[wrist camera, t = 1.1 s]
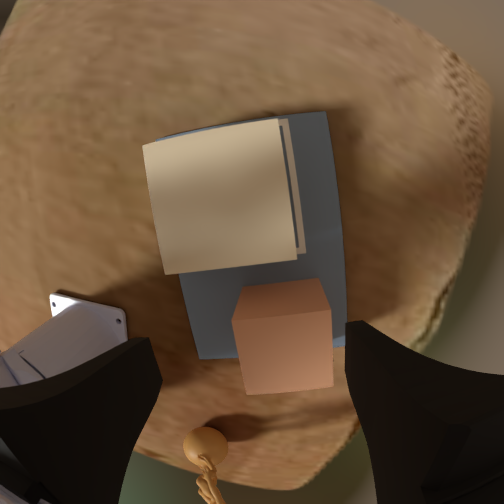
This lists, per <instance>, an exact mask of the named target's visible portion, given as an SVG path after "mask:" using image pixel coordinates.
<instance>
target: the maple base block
mask: <svg viewBox="0 0 504 504" xmlns="http://www.w3.org/2000/svg"><path fill="white" fill-rule="evenodd" d="M143 153H144V161H145V168H146V175H147V181H148V188H149V194H150V200H151V206H152V212H153V217H154V223H155V228H156V233H157V239H158V244H159V248H160V253H161V258H162V263H163V267H164V272H165V275H169V274H178V273H187V272H196V271H205V270H213V269H222V268H231V267H239V266H248V265H256V264H264V263H272V262H281V261H289V260H297V252H296V244H295V235H294V227H293V219H292V212H291V204H290V197H289V189H288V182H287V175H286V168H285V162H284V155H283V148H282V142H281V136H280V129H279V123H278V118H277V119H269V120H262V121H255V122H249V123H243V124H237V125H231V126H225V127H220V128H215V129H210V130H205V131H200V132H195V133H191V134H186V135H182V136H178V137H173V138H169V139H165V140H161V141H157V142H154V143H150V144H146V145H143Z"/></svg>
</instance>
